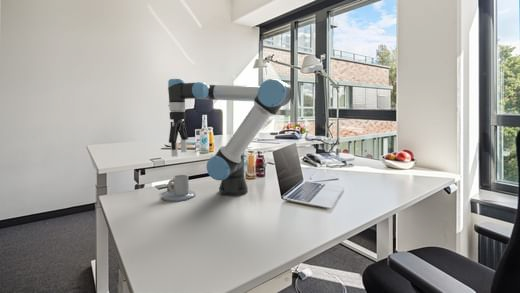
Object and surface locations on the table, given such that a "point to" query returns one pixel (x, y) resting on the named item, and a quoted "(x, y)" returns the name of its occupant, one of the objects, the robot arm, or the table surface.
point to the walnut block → (171, 186)
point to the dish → (172, 197)
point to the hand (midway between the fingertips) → (179, 154)
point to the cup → (179, 185)
